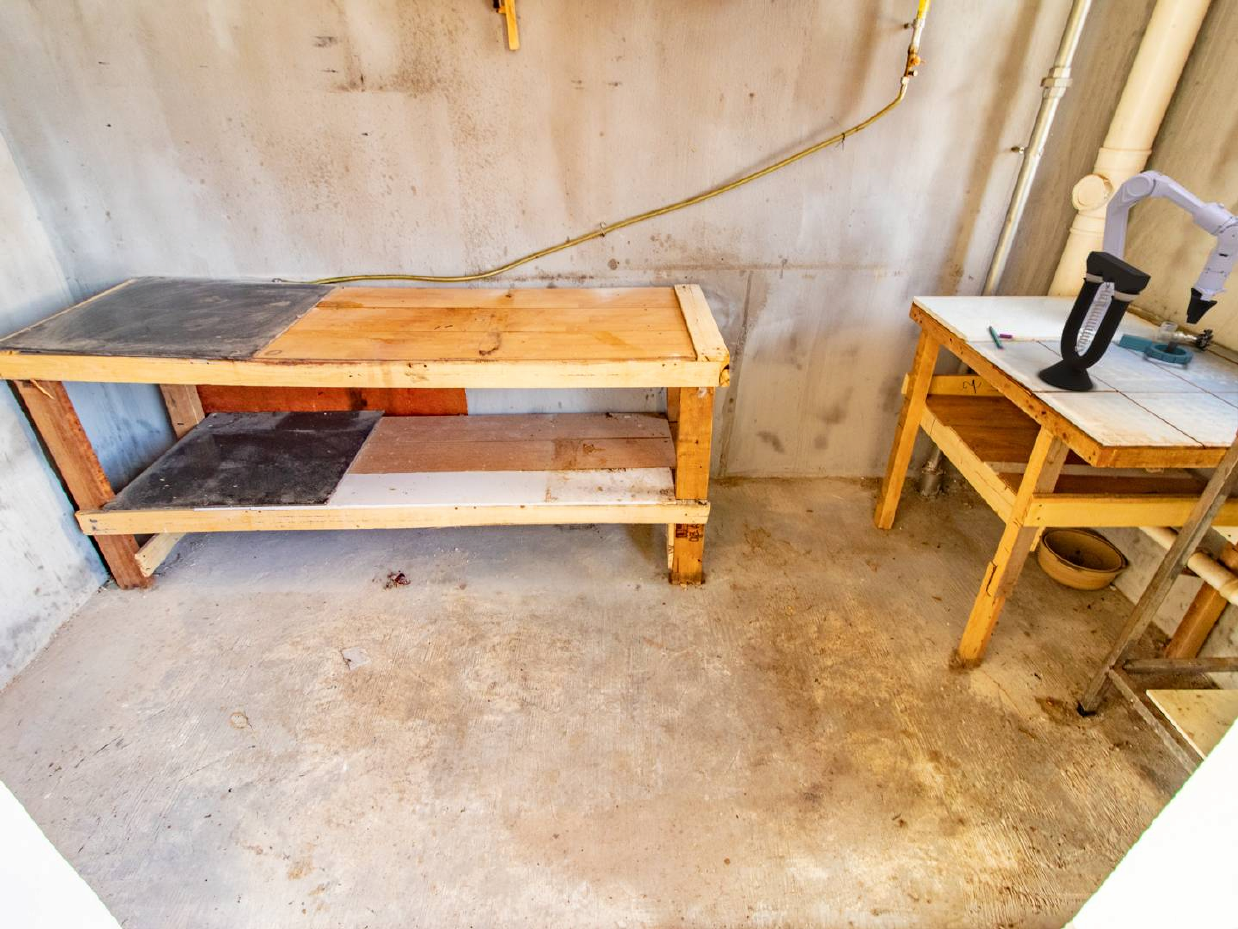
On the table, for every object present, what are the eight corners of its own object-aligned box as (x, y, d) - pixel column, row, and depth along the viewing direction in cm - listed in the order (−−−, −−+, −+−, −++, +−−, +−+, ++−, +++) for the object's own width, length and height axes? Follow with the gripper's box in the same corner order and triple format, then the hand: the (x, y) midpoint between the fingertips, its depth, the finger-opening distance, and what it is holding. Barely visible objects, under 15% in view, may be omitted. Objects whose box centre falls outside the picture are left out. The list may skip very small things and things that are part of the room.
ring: (1116, 350, 181) (1121, 340, 179) (1119, 339, 188) (1124, 329, 186) (1189, 366, 173) (1196, 355, 171) (1190, 354, 180) (1196, 343, 178)
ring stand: (1144, 360, 179) (1154, 341, 176) (1146, 350, 185) (1155, 332, 182) (1185, 369, 174) (1195, 350, 171) (1185, 358, 180) (1195, 340, 177)
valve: (1153, 348, 186) (1204, 356, 182) (1164, 326, 182) (1216, 333, 178) (1148, 340, 191) (1197, 347, 187) (1159, 318, 187) (1209, 325, 183)
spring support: (1108, 398, 159) (1167, 276, 143) (1055, 394, 160) (1108, 273, 144) (1070, 363, 176) (1119, 251, 160) (1023, 360, 178) (1067, 248, 161)
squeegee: (1019, 347, 183) (1000, 345, 184) (1018, 350, 183) (999, 348, 184) (1007, 327, 195) (989, 325, 196) (1006, 330, 195) (988, 328, 196)
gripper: (1237, 279, 164) (1209, 330, 171) (1235, 266, 174) (1208, 315, 181) (1203, 273, 167) (1176, 324, 175) (1202, 261, 177) (1177, 309, 185)
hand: (1190, 319), depth 178 cm, fingers open, 7 cm apart
